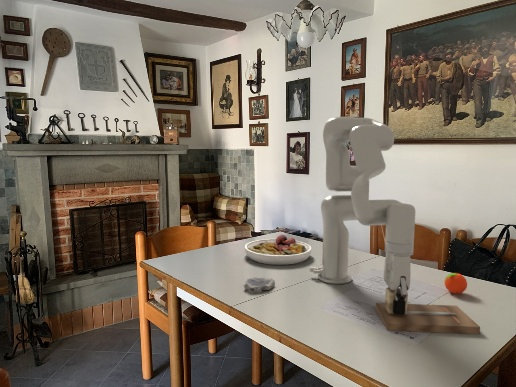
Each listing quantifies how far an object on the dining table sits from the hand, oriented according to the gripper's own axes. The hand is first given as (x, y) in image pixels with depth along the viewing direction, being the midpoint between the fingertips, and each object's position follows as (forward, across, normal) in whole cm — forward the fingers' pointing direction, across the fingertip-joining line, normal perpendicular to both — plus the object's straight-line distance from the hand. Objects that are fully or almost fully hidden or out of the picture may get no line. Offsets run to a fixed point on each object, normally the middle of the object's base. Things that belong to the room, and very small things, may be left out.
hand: (395, 308), depth 110 cm
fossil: (+4, -22, -41) cm, 47 cm away
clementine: (+3, -23, +26) cm, 35 cm away
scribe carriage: (+1, 0, 0) cm, 1 cm away
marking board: (+3, 0, +8) cm, 9 cm away
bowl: (+4, -62, -35) cm, 71 cm away
